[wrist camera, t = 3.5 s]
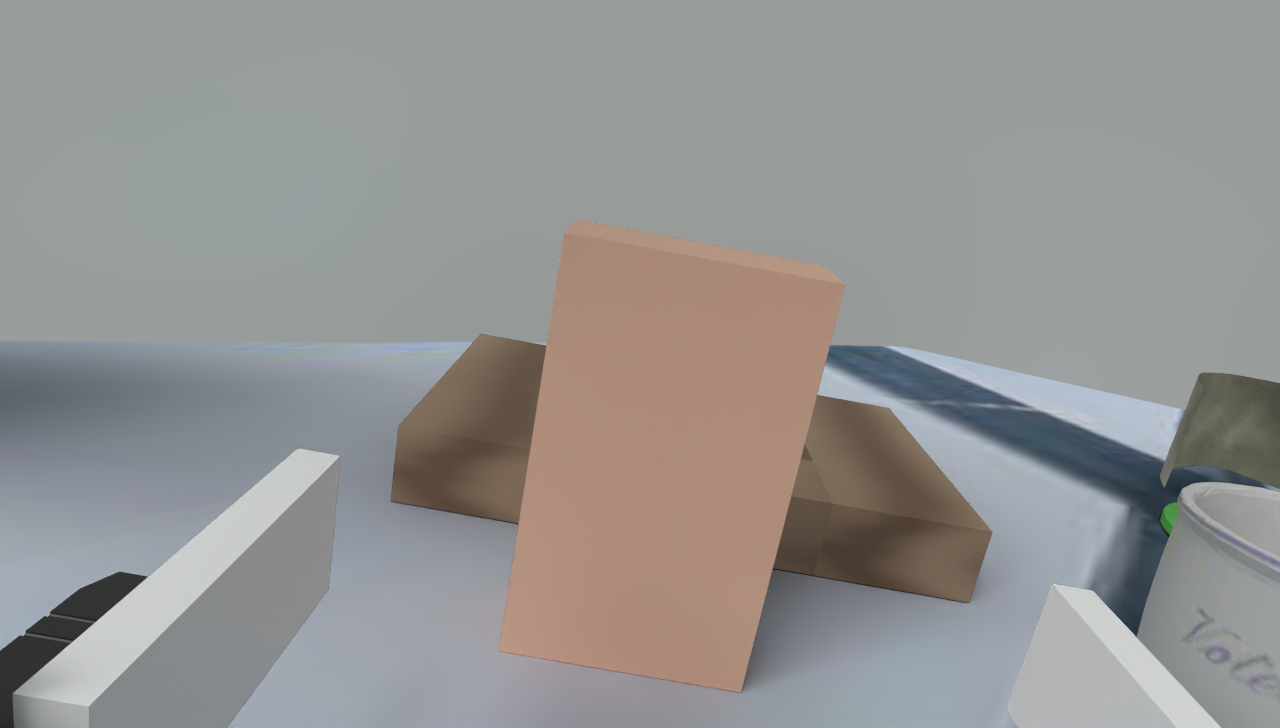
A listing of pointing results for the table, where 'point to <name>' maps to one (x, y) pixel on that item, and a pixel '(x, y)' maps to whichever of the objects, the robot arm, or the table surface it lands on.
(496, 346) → the slotted rack
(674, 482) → the salmon rectangular block
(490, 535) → the table surface
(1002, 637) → the table surface
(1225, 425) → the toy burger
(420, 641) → the table surface
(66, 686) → the robot arm
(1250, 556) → the teacup
